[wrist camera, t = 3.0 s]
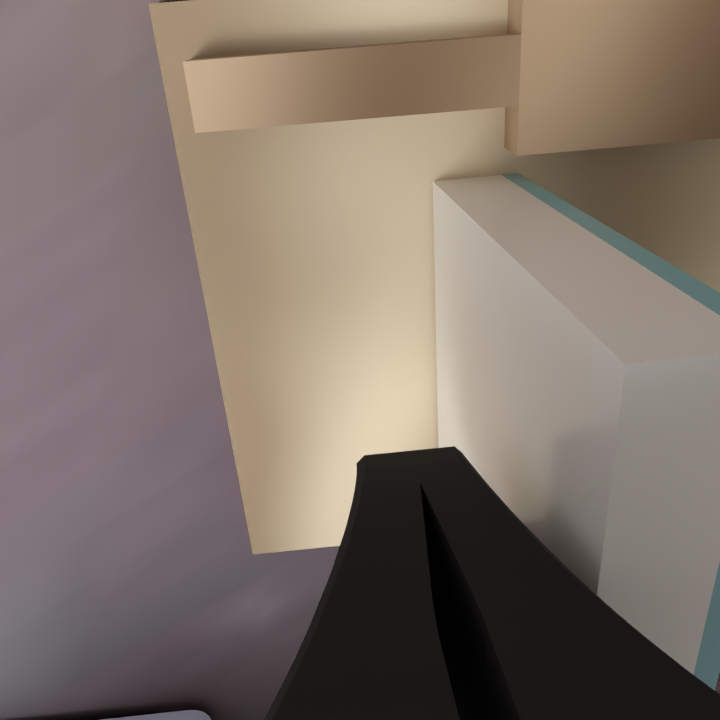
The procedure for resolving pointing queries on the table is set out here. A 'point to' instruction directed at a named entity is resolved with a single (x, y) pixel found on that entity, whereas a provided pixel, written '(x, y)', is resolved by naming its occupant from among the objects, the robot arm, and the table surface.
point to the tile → (586, 400)
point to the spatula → (498, 77)
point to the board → (365, 246)
